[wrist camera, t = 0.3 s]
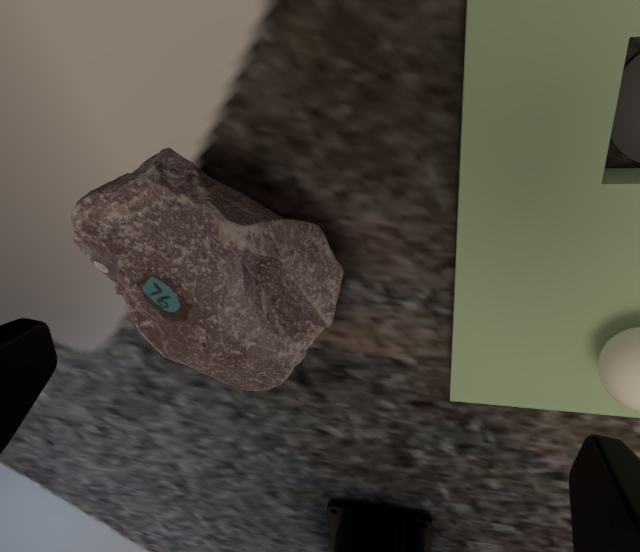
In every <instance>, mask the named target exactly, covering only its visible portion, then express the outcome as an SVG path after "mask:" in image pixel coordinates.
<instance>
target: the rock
mask: <svg viewBox="0 0 640 552" xmlns="http://www.w3.org/2000/svg"><path fill="white" fill-rule="evenodd" d="M71 212H72V214H71V220H72V222H73V226H74V230H75V236H74V237H73V241H74V242H75V244H76V245H77V246H78V247H79V249H80V250H81V251H82V252H83V253H84V254H85V256H87V257H88V258H89V259H90V261H92V263H93V264H94V265H95V266H96V267H97V268H98V269H99V270H100V271H102V272H103V273H104V274H105V275H106V276H107V277H109V278H110V279H111V280H112V281H114V282H115V283H116V293H117V294H121V295H122V296H123V298H124V300H125V302H126V304H127V306H128V308H129V315H130V318H131V319H132V320H133V322H134V323H135V325H136V326H137V328H138V330H139V332H140V333H141V334H142V335H143V336H144V337H145V338H146V339H147V340H148V342H149V343H150V344H151V345H152V346H153V347H154V348H155V349H156V350H157V351H159V352H160V353H161V354H162V355H163V356H164V357H166V358H168V359H171V360H173V361H176V362H179V363H182V364H185V365H187V366H189V367H191V368H193V369H195V370H197V371H198V372H201V373H203V374H206V375H208V376H210V377H213V378H215V379H217V380H219V381H222V382H223V383H225V384H228V385H232V386H235V387H238V388H241V389H243V390H255V391H264V390H268V389H271V388H273V387H275V386H277V385H280V384H281V383H283V382H284V381H285V380H286V379H287V378H288V377H289V375H290V374H291V372H292V371H293V368H294V367H295V366H296V365H297V364H299V363H300V362H301V360H302V359H303V358H304V357H305V356H306V352H307V348H308V347H309V346H311V344H312V343H313V341H314V340H315V339H316V338H317V337H318V336H319V334H320V333H321V332H322V331H323V330H324V328H325V327H329V326H330V325H331V324H332V322H333V318H334V314H335V309H336V303H337V300H338V296H339V291H340V286H341V282H342V278H343V273H344V271H343V268H342V266H341V264H340V263H339V262H338V261H337V260H336V258H335V255H334V253H333V251H332V249H331V248H330V247H329V244H328V241H327V238H326V236H325V235H324V233H323V231H322V229H321V228H320V226H319V225H318V224H313V223H309V222H305V221H301V220H294V219H288V218H283V217H280V216H278V215H277V214H275V213H274V212H272V211H271V210H269V209H267V208H265V207H263V206H262V205H260V204H259V203H257V202H256V201H254V200H253V199H251V198H249V197H247V196H246V195H244V194H242V193H240V192H238V191H236V190H234V189H232V188H230V187H228V186H226V185H224V184H222V183H220V182H218V181H215V180H214V179H212V178H210V177H209V176H207V175H206V174H205V173H204V172H202V171H201V170H199V169H198V168H197V167H196V166H195V165H194V164H193V163H192V162H190V161H188V160H187V159H185V158H183V157H182V156H181V155H179V154H178V153H176V152H175V151H173V150H172V149H170V148H166V149H163V150H162V151H161V152H160V153H158V154H156V155H154V156H152V157H151V158H149V159H148V160H146V161H145V162H144V163H143V164H142V165H141V166H140V167H139V168H138V169H137V170H135V171H134V172H133V173H127V174H125V175H123V176H120V177H118V178H117V179H115V180H113V181H111V182H108V183H106V184H104V185H102V186H101V187H99V188H97V189H95V190H92V191H90V192H89V193H88V194H87V195H85V196H84V197H82V198H81V199H80V200H79V201H78V202H77V204H76V206H75V207H74V209H73V210H72V211H71Z"/></svg>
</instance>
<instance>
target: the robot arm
mask: <svg viewBox="0 0 640 552" xmlns="http://www.w3.org/2000/svg"><path fill="white" fill-rule="evenodd" d="M56 365H57V354H56V351H55V347H54V344H53V340H52V337H51V333H50V329H49V327H48V326H47V325H46V323H44V322H42V321H38V320H33V319H27V318H20V319H17V320H14V321H11V322H8V323H5V324H3V325H0V454H1V453H2V451H3V450H4V449H5V447H6V446H7V444H8V443H9V441H10V440H11V438H12V437H13V435H14V434H15V432H16V431H17V429H18V428H19V426H20V425H21V423H22V421H23V420H24V418H25V417H26V415H27V414H28V412H29V410H30V409H31V407H32V406H33V404H34V402H35V401H36V399H37V398H38V396H39V395H40V393H41V391H42V390H43V388H44V387H45V385H46V384H47V382H48V380H49V379H50V377H51V376H52V374H53V372H54V371H55V368H56ZM569 491H570V505H571V520H572V534H573V548H574V552H640V458H639V457H638V456H637V455H636V454H635V453H634V452H633V451H632V449H631V448H630V447H629V446H628V445H627V444H626V443H625V442H624V441H622V440H621V439H619V438H617V437H612V436H607V435H602V434H597V433H591V434H589V435H588V436H587V437H586V439H585V440H584V442H583V445H582V447H581V449H580V451H579V453H578V455H577V457H576V459H575V461H574V463H573V465H572V468H571V471H570V476H569ZM326 511H327V518H328V525H329V531H330V538H331V545H332V552H431V528H432V519H431V517H430V516H428V515H426V514H422V513H415V512H408V511H401V510H394V509H387V508H380V507H373V506H366V505H359V504H352V503H345V502H338V501H330V502H329V503H328V506H327V510H326Z"/></svg>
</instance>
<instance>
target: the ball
mask: <svg viewBox="0 0 640 552" xmlns="http://www.w3.org/2000/svg"><path fill="white" fill-rule="evenodd" d="M598 372H599V376H600V380H601V382H602V384H603V386H604V388H605V389H606V391H607V392H608V394H609V395H610V396H611V397H612V398H613V399H614V400H615V401H617V402H618V403H619V404H621V405H623V406H624V407H626V408H628V409H631V410H633V411H636V412H639V413H640V327H635V328H630V329H627V330H624V331H622V332H620V333H618V334H616V335H615V336H613V337H612V338H611V339H610V340H609V341H608V342H607V343H606V344H605V346H604V347H603V349H602V351H601V353H600V356H599V360H598Z"/></svg>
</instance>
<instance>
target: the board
mask: <svg viewBox="0 0 640 552" xmlns="http://www.w3.org/2000/svg"><path fill="white" fill-rule="evenodd" d="M629 37H640V0H467V4H466V28H465V51H464V74H463V97H462V121H461V144H460V167H459V191H458V214H457V237H456V261H455V284H454V307H453V330H452V354H451V377H450V401H458V402H469V403H480V404H491V405H502V406H513V407H524V408H536V409H547V410H558V411H569V412H580V413H591V414H602V415H613V416H625V417H636V418H640V413H639V412H636V411H633V410H631V409H628V408H626V407H624V406H623V405H621V404H619V403H618V402H617V401H615V400H614V399H613V398H612V397H611V396H610V395H609V394H608V392H607V391H606V389H605V388H604V386H603V384H602V382H601V380H600V376H599V372H598V360H599V356H600V353H601V351H602V349H603V347H604V346H605V344H606V343H607V342H608V341H609V340H610V339H611V338H612V337H613V336H615V335H616V334H618V333H620V332H622V331H624V330H627V329H630V328H635V327H640V168H605V163H606V157H607V152H608V147H609V142H610V138H611V140H612V142H613V143H614V144H615V146H616V147H617V148H618V149H619V150H620V151H621V152H622V153H623V154H624V155H626V156H627V157H629V158H630V159H632V160H634V161H636V162H639V163H640V52H639V53H638V54H636V55H635V56H634V57H633V58H632V59H631V60H630V61H629V62H628V63H627V64H626V66H625V67H624V64H625V58H626V53H627V48H628V43H629Z"/></svg>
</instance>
